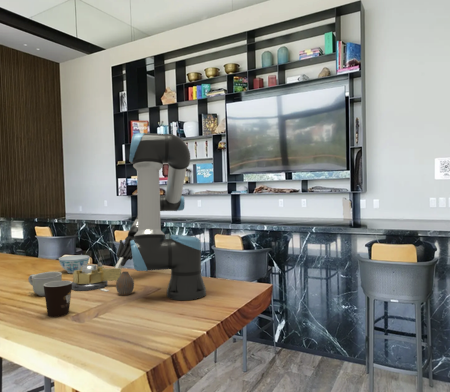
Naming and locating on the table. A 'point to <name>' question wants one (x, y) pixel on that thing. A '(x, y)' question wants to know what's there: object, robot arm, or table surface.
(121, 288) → the vase
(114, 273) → the tan piece
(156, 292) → the table surface
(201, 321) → the table surface
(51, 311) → the coffee mug
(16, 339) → the table surface
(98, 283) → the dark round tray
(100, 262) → the pocket watch
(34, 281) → the teacup
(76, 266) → the chinaware
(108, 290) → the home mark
